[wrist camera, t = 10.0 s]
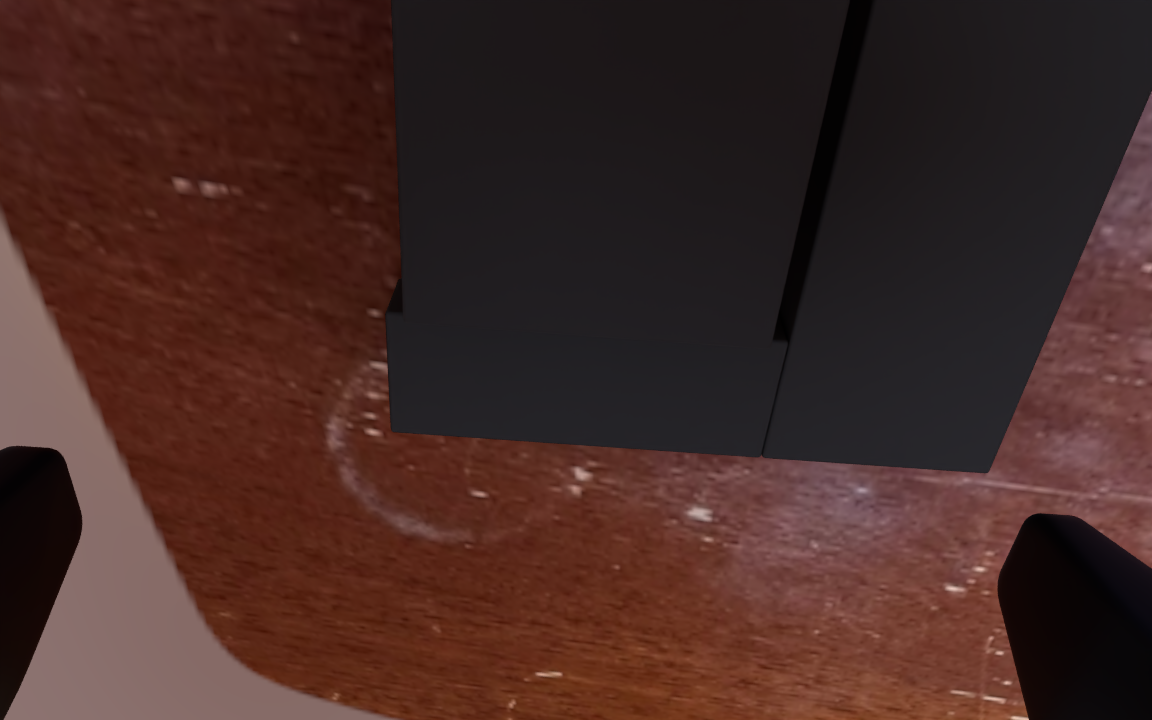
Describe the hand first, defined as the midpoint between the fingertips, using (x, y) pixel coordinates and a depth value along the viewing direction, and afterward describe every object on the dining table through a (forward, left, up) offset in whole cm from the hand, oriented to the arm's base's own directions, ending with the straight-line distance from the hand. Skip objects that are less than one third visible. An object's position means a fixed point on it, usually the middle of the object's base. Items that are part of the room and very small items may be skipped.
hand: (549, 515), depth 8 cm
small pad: (+1, +1, -10) cm, 10 cm away
